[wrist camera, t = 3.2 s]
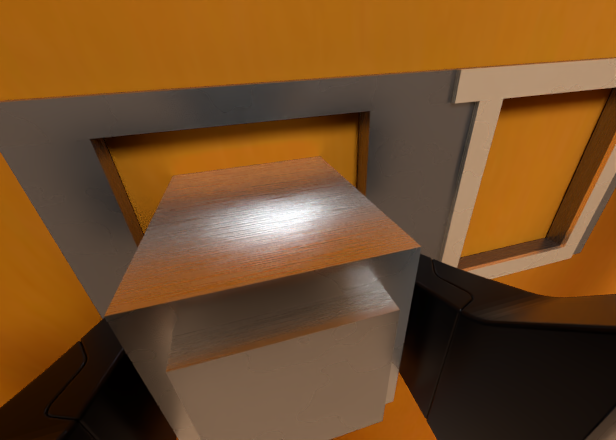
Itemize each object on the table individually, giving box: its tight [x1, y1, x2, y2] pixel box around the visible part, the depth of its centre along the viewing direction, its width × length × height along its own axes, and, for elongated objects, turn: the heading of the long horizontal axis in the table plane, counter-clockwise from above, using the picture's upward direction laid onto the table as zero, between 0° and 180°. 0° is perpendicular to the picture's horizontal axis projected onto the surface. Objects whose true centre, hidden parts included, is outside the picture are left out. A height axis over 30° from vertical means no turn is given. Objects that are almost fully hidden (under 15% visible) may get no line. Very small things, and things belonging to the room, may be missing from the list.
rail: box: [0, 57, 616, 319], centre depth 11 cm, size 24×10×1 cm, turn 93°
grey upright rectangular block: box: [104, 156, 421, 440], centre depth 8 cm, size 5×5×7 cm
